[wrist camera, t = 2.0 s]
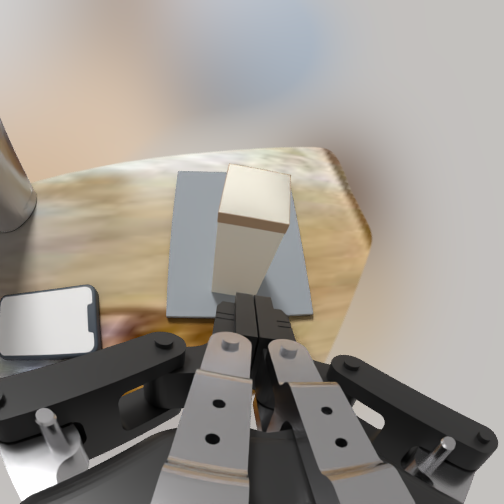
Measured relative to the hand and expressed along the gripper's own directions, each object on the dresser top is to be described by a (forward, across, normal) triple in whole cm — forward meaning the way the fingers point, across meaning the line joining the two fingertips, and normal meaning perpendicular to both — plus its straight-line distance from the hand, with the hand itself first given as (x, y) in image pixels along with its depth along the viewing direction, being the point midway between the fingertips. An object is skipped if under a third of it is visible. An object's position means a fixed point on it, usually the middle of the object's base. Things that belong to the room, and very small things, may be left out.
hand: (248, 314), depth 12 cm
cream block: (+21, 0, +6) cm, 22 cm away
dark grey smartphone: (+14, +22, +15) cm, 30 cm away
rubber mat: (+26, 0, +2) cm, 26 cm away
